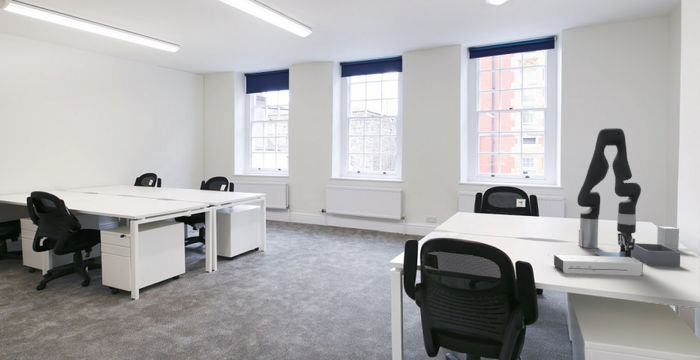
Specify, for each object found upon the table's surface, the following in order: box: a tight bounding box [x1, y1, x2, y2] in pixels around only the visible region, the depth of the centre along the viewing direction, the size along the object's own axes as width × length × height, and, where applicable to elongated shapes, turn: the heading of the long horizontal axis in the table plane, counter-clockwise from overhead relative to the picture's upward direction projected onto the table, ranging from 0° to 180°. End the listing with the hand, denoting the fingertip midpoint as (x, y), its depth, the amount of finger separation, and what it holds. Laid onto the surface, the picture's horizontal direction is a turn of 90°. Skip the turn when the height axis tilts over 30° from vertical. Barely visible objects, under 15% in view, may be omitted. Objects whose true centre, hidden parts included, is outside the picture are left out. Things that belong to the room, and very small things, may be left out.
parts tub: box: [631, 242, 681, 267], centre depth 199 cm, size 14×18×7 cm
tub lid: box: [594, 251, 641, 262], centre depth 201 cm, size 15×21×7 cm
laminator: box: [553, 254, 644, 277], centre depth 184 cm, size 34×12×6 cm, turn 81°
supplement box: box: [656, 226, 680, 251], centre depth 223 cm, size 7×7×13 cm
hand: (625, 255), depth 193 cm, fingers open, 5 cm apart
